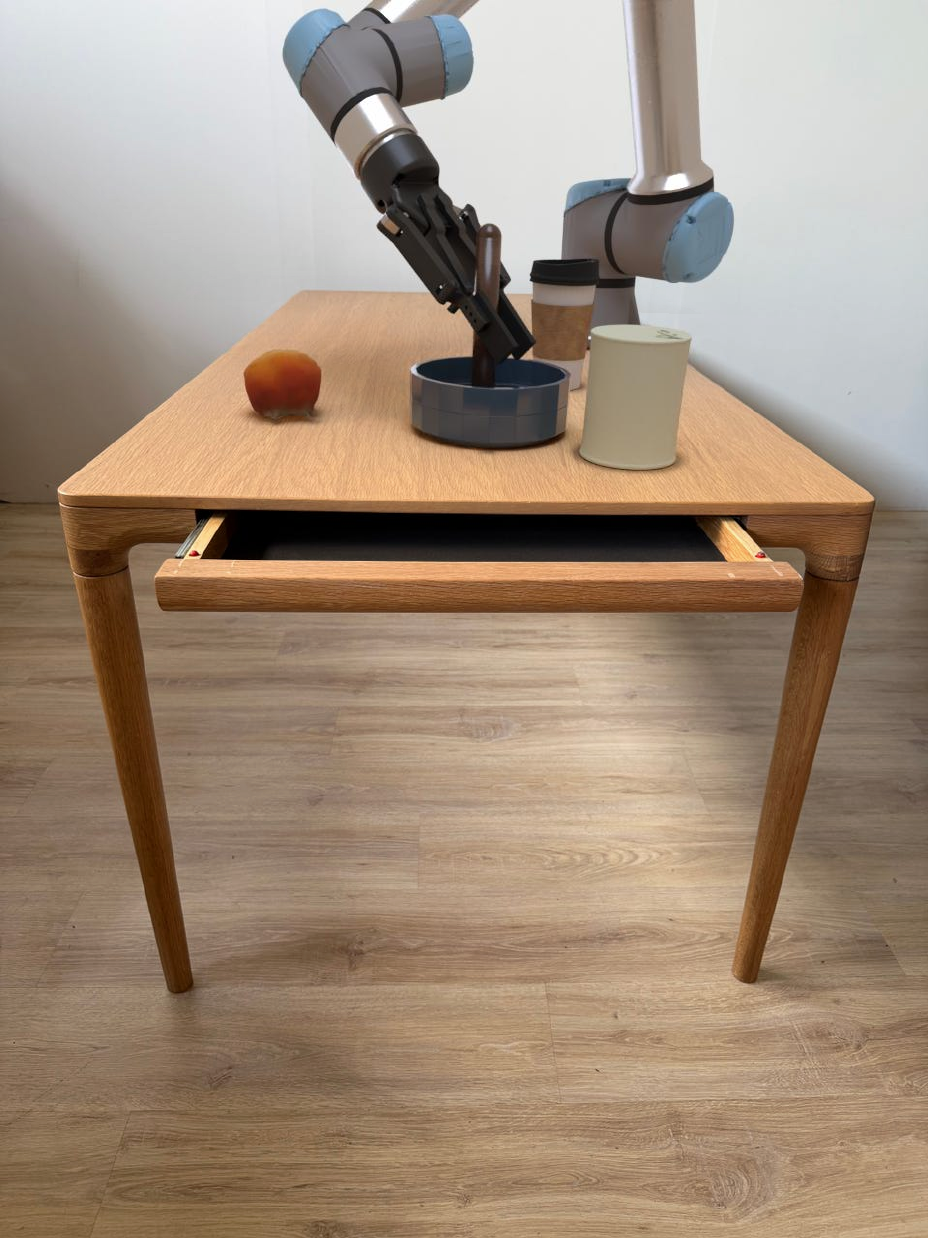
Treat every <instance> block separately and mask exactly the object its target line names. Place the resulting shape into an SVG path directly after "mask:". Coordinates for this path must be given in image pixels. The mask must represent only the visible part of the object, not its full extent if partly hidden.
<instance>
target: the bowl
mask: <svg viewBox="0 0 928 1238" xmlns="http://www.w3.org/2000/svg"><path fill="white" fill-rule="evenodd" d="M471 380H472V355H458V356H457V355H456V356H445V357H438V358H432V359H427V360H423V361H421V362H416V363H415V364H413V365H412V366H411V367H410V368H409V420H410V423H411V425H412V426H413V427H414V428H416V429H417V430H419V431H420V432H423V433H424V435H427V436H428V437H430V438H432V439H435V440H437V441H441V442H443V443H446V444H447V443H448V444H452V445H458V446H463V447H473V448H485V449H507V448H508V449H509V448H511V449H512V448H521V447H527V446H534V445H538V444H542V443H545V442H548V441H550V440H551V439H553V438H554V437H556V436H558V435H560V434H562V433H564V432H565V431H566V430H567V427H568V422H569V411H570V410H569V409H570V397H571V390H570V387H571V373H569V372H568V371H567V370H566V369H564V368H561V367H559V366H556V365H553V364H550V363H545V362H540V361H536V360H533V359H528V358H522V357H521V358H520V359H519V360H515V359H514V358H513V356H509V357H508V358H507V359H506V360H505V361H504V362H503V363H502V364H498V365H497V363H496V370H495V388H490V387H476V386H471Z"/></svg>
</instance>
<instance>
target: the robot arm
mask: <svg viewBox="0 0 928 1238" xmlns="http://www.w3.org/2000/svg"><path fill="white" fill-rule="evenodd" d="M480 1H481V0H372V1H370V2H369V3H368V4H367V5H366V6H365V7H363V9H362V10H360V11H359V12H358V13H357V14H355V15H354V16H353V17H352V18H350V19H349V20H348V21H345V20H344V18H343V17H342V16H341V15H340V14H339V13H338V12H336V11H334V10H331V9H328V8H317V9H313V10H311V11H309V12H307V13H305V14H304V15H302V16H301V17H300V18H299V19H297V20H296V21H295V22H294V24H293V25H292V26H291V27H290V29H289V30H288V32H287V34H286V36H285V38H284V41H283V46H282V53H281V54H282V55H281V56H282V61H283V64H284V67H285V70H286V71H287V73H288V75H289V78H290V80H291V81H292V82H293V84H294V86H295V88H296V89H297V93H298V94H299V96H300V98H302V99H303V101H304V102H305V103H306V105H307V106H308V108H309V109H310V111H311V112H312V114H313V115H314V116H315V118H316V119H317V121H318V122H319V124H320V126H321V127H322V128H323V130H324V131H325V132H326V134H327V136H328V137H329V139H330V140H331V141H332V143H333V144H334V146H335V147H336V149H337V150H338V151H339V153H340V155H341V157H342V158H343V159H344V161H345V163H346V164H347V166H348V167H349V169H350V170H351V172H352V174H353V175H354V177H355V178H356V179H357V180H358V181H359V183H360V186H361V188H362V190H363V191H364V192H365V194H366V196H367V197H368V199H369V200H370V202H371V203H372V205H373V206H374V208H375V209H376V211H377V212H378V213H379V214H381V215H382V216H381V217H380V219H379V220H378V222H377V223H376V229H377V230H378V232H380V233H381V234H382V235H383V236H384V237H386V239H388V241H390V242H391V243H392V244H393V245H394V247H395V248H396V249H397V251H398V252H399V253H400V255H401V256H402V257H403V259H404V260H405V262H407V264H408V265H409V266H410V268H411V269H412V270H413V272H414V273H415V274H416V276H417V277H418V279H419V280H420V281H421V282H422V283H423V285H424V286H425V288H426V289H427V291H428V292H429V293H430V294H431V296H432V297H433V298H434V300H435V301H436V302H437V303H438V304H439V305H442V306H445V305H446V304H447V303H450V304H449V305H448V306H447V308H446V310H447V311H448V313H450V314H452V315H454V314H455V315H456V314H457V312H458V311H459V310H460V311H461V313H462V315H463V316H464V318H465V319H466V321H467V322H468V324H469V325H470V328H472V330H473V329H474V330H475V331H476V333H477V334H478V336H479V337H480V339H481V340H482V342H483V343H484V345H485V347H486V348H487V350H488V351H489V353H490V354H491V356H492V357H493V359H494V360H495V362H496V363H497V365H498V364H502V363H503V362H504V361H505V360H506V359H507V358H508V357H513V358H514V359H515V360H519V359H520V358H521V359H522V358H523V357H524V356H525V355H526V354H527V353H528V352H529V351H530V350H532V347H533V346H534V345H535V344H536V343H537V342H536V341H535V339H534V337H533V336H532V332H530V330H529V328H528V326H526V324H525V322H524V321H523V320H522V317H520V314H519V313H518V311H517V310H516V308H515V307H514V305H513V304H512V302H511V301H510V299H509V298H508V296H507V295H506V293H505V291H504V290H505V289H506V287H507V286H509V284H510V283H511V281H512V278H511V276H510V274H509V271H508V270H507V269H506V267H505V266H504V264H503V262H502V261H501V262H500V284H499V305H498V314H497V312H496V311H495V309H494V308H493V306H492V304H491V303H490V301H489V300H488V298H487V297H486V295H485V294H484V292H483V291H478V292H477V293H476V294H475V265H476V236H477V232H478V230H479V228H480V227H481V226H482V225H481V223H480V221H479V217H478V215H477V211H476V209H475V207H474V206H473V205H472V204H470V203H466V204H465V205H464V207H463V208H461V207H459V206H456V205H454V202H453V200H452V198H451V197H450V195H448V194H447V193H446V192H445V190H443V189H442V187H440V172H441V168H440V164H439V162H438V160H437V159H436V157H435V156H434V154H433V153H432V151H431V150H430V148H429V146H428V145H427V144H426V142H425V140H424V139H423V138H422V137H421V136H419V133H418V130H417V128H416V127H415V125H414V124H413V122H412V120H410V118H409V116H408V115H407V113H406V112H405V111H404V108H407V107H411V106H416V105H419V104H423V103H428V102H432V101H437V100H440V101H443V100H445V99H446V98H447V97H449V96H452V95H456V94H458V93H461V92H463V91H464V90H465V89H466V87H468V85H469V83H470V81H471V79H472V76H473V72H474V64H475V57H474V51H473V43H472V40H471V37H470V35H469V32H468V29H467V28H466V27H465V25H464V24H463V23H462V21H460V19H461V18H462V17H464V16H465V14H467V13H468V12H469V11H470V10H472V8H473V7H475V6H476V5H477V4H478V3H479V2H480ZM621 1H622V15H623V26H624V38H625V50H626V61H627V62H626V63H627V73H628V74H627V75H628V85H629V86H628V87H629V97H630V109H631V112H630V113H631V121H632V132H633V133H632V134H633V146H634V157H635V158H634V159H635V170H636V171H635V172H634V174H633V176H632V177H619V178H607V179H604V178H603V179H593V180H588V181H587V180H586V181H581V182H577V183H575V184H573V185H571V186H570V188H569V189H568V190H567V193H566V199H565V207H564V208H565V209H564V210H563V215H562V217H563V221H562V240H561V256H560V258H561V259H587V258H592V259H598V260H599V276H600V279H599V284H598V285H596V288H595V294H594V300H593V302H594V303H595V304H594V310H593V315H592V321H591V326H590V332H589V337H588V343H587V348H586V349H590V344H591V330H592V329H593V328H595V327H599V326H606V325H642V324H641V318H640V314H639V310H638V309H639V308H638V304H637V299H636V290H635V289H636V279H637V277H638V278H639V277H640V278H646V279H651V280H658V281H664V282H668V283H669V284H678V283H685V284H693V283H697V282H701V281H703V280H704V279H705V280H706V278H708V277H709V276H710V275H711V274H712V273H713V272H715V270H716V269H717V268H718V267H719V266H720V264H721V263H722V260H723V258H724V256H725V255H726V254H727V252H728V249H729V248H730V247H729V246H730V244H731V242H732V241H731V240H732V237H733V234H734V226H735V214H734V208H733V205H732V203H731V202H730V201H729V199H728V197H727V196H725V195H724V194H722V193H721V192H718V191H715V176H714V175H715V174H714V173H715V172H714V170H713V169H712V167H710V166H709V165H708V164H707V163H706V162H704V161H703V159H702V144H701V143H702V142H701V121H700V119H701V118H700V101H699V100H700V99H699V97H700V96H699V78H698V77H699V76H698V54H697V53H698V52H697V33H696V32H697V31H696V8H695V6H696V5H695V0H621ZM474 294H475V295H474Z"/></svg>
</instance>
